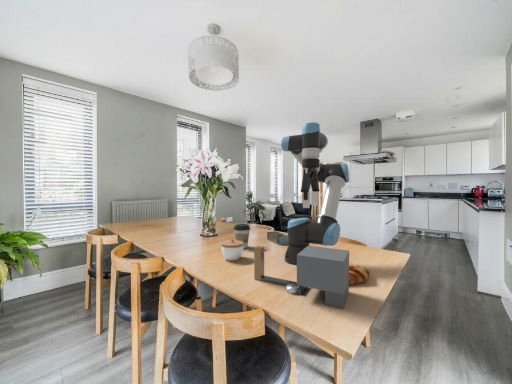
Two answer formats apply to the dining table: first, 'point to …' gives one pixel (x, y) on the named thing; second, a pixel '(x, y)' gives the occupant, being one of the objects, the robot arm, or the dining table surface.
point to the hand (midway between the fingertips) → (310, 206)
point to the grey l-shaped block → (325, 273)
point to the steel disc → (292, 288)
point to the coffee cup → (242, 233)
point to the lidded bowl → (232, 249)
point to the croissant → (357, 274)
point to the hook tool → (260, 271)
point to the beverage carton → (277, 238)
